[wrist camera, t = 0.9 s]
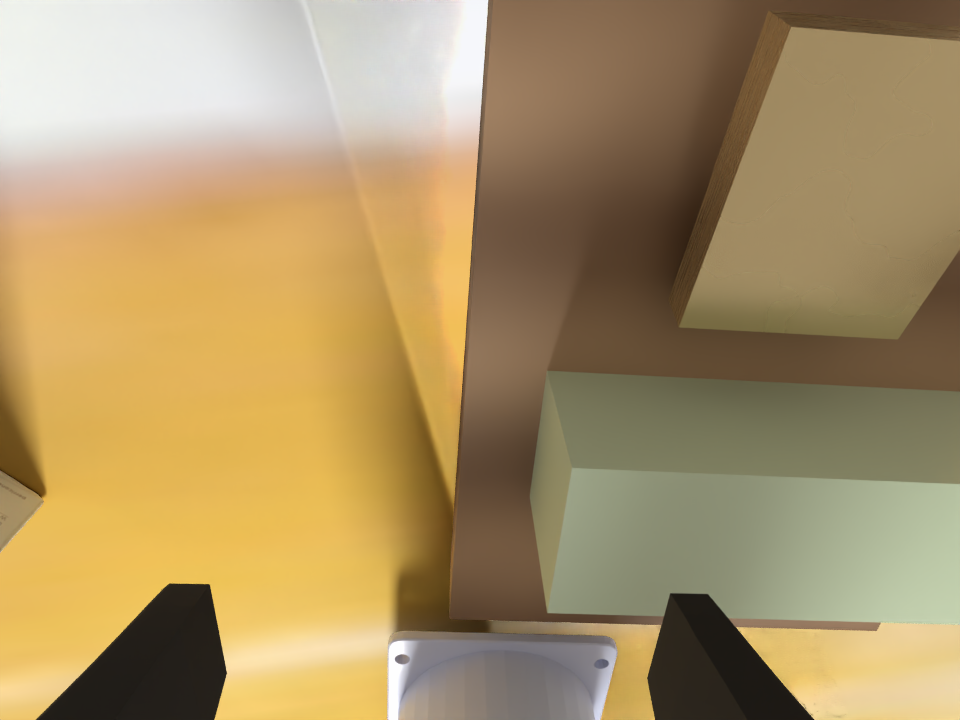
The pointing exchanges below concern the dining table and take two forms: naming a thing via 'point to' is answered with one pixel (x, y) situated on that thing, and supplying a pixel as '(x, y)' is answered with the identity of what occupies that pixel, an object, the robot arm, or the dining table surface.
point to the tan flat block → (830, 182)
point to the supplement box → (15, 507)
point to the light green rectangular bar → (748, 498)
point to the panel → (621, 252)
